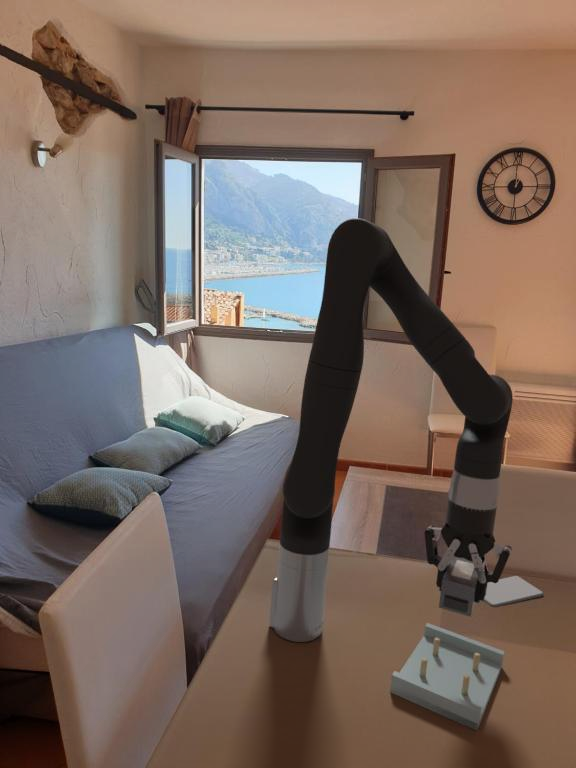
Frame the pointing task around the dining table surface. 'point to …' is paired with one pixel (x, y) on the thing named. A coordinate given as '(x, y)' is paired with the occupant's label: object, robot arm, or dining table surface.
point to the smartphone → (510, 591)
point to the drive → (459, 587)
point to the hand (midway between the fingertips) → (459, 594)
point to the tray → (450, 675)
